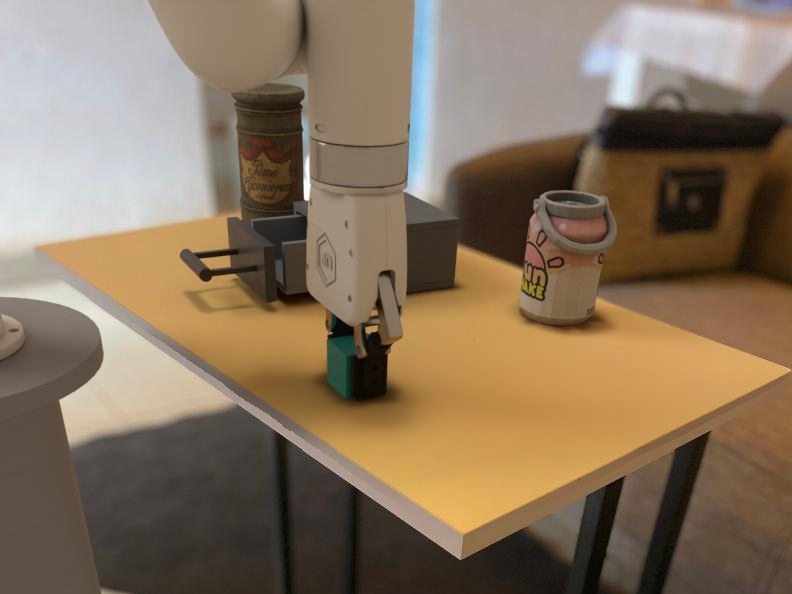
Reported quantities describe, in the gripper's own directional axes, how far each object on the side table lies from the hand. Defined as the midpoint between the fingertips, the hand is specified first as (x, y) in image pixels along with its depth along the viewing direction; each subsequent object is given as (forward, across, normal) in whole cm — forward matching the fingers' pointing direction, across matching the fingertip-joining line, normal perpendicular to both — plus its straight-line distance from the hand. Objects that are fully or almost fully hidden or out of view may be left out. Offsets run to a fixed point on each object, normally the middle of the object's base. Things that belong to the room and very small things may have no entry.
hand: (356, 383), depth 74 cm
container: (0, -41, +8) cm, 42 cm away
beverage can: (0, -7, +28) cm, 29 cm away
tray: (-1, -26, +3) cm, 26 cm away
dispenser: (0, -26, +15) cm, 30 cm away
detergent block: (0, 0, 0) cm, 0 cm away
